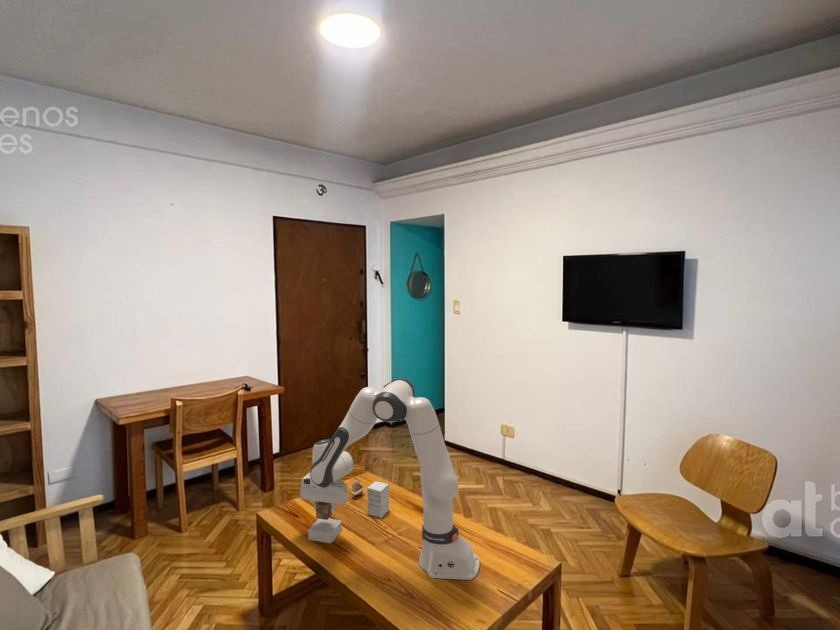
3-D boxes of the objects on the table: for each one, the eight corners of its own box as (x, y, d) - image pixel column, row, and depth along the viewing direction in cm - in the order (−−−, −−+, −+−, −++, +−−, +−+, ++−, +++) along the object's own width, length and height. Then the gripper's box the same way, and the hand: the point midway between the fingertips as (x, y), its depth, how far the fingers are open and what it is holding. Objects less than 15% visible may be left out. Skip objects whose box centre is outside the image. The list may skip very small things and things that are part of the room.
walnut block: (332, 513, 187) (332, 499, 186) (327, 520, 182) (327, 505, 182) (321, 512, 188) (321, 498, 188) (316, 518, 183) (315, 504, 183)
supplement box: (375, 506, 208) (375, 480, 207) (389, 510, 205) (389, 483, 204) (367, 514, 202) (366, 487, 200) (381, 518, 198) (380, 490, 197)
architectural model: (365, 495, 220) (365, 480, 219) (356, 501, 214) (355, 486, 213) (359, 493, 222) (359, 479, 221) (350, 499, 216) (350, 484, 215)
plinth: (341, 529, 190) (341, 519, 189) (330, 543, 180) (330, 533, 180) (320, 526, 192) (320, 516, 192) (308, 539, 183) (308, 529, 182)
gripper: (350, 478, 184) (350, 510, 185) (305, 472, 189) (306, 504, 191) (344, 485, 178) (344, 518, 179) (297, 479, 183) (298, 511, 185)
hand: (324, 511), depth 185 cm, fingers closed on walnut block, 5 cm apart
